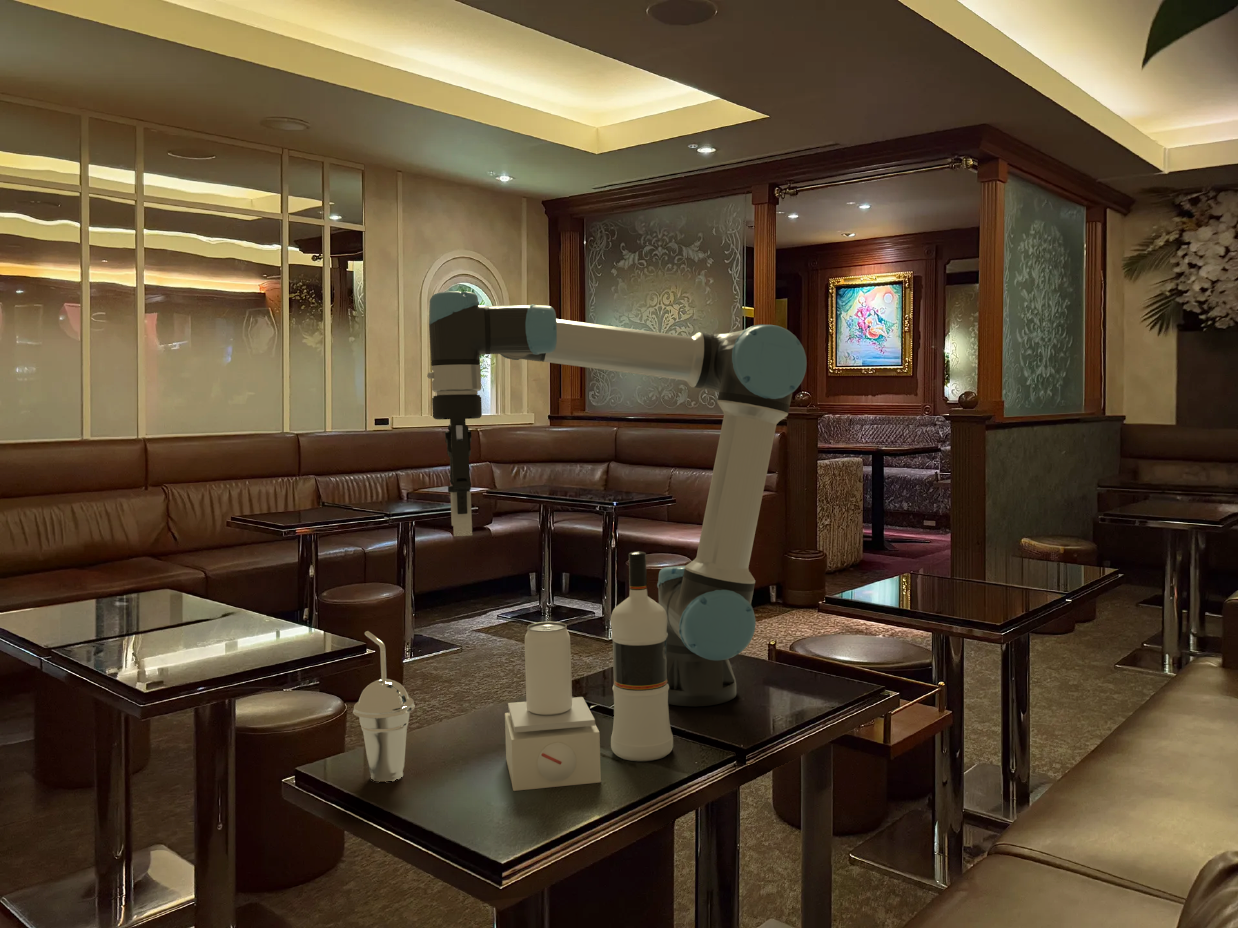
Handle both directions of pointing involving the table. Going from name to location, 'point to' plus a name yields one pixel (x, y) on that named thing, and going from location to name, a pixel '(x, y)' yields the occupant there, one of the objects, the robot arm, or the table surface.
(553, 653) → the can
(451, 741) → the table surface
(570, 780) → the scale
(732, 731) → the table surface
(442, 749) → the table surface
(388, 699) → the cup with straw
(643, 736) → the vodka
